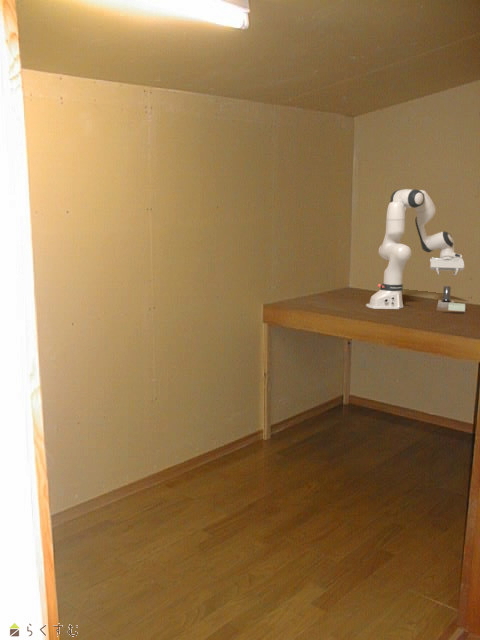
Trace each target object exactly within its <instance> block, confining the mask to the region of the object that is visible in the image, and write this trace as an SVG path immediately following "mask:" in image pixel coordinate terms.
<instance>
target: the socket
mask: <svg viewBox="0 0 480 640" xmlns="http://www.w3.org/2000/svg"><path fill="white" fill-rule="evenodd" d="M449 303H455V300H451V299H450V302H443V299H438V301H437V304H438V307H448V306H449Z"/></svg>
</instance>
